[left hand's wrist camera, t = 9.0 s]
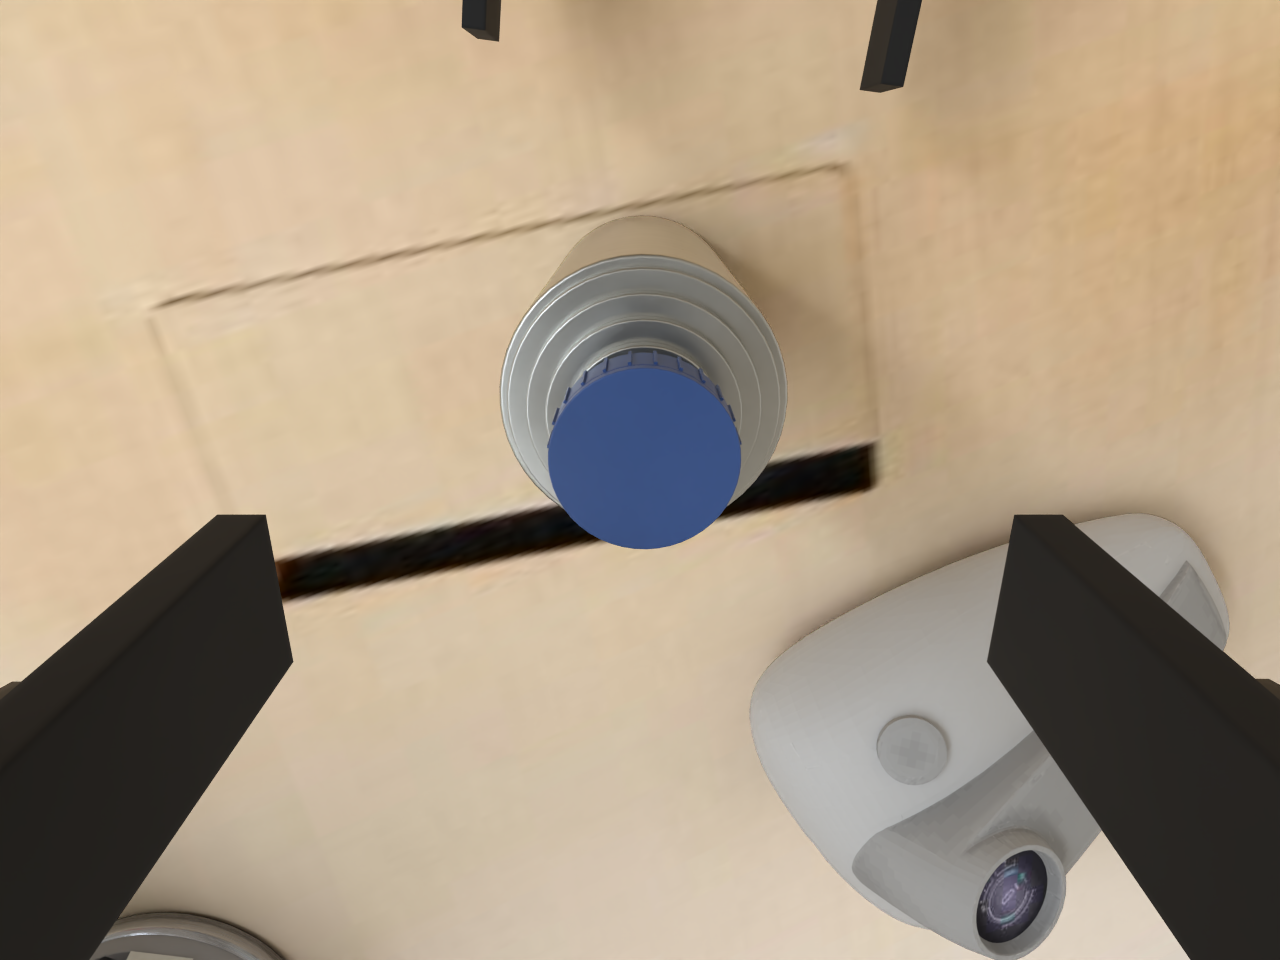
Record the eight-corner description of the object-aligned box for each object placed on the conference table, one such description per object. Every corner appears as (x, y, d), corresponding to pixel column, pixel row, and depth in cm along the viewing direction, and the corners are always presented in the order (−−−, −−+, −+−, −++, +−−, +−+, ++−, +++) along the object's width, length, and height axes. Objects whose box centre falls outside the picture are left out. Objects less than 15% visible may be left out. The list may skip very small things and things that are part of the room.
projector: (1086, 847, 49) (1258, 1114, 35) (710, 810, 48) (738, 1070, 34) (1232, 514, 41) (1529, 694, 27) (782, 459, 40) (857, 618, 26)
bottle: (644, 431, 39) (648, 666, 21) (514, 312, 37) (396, 461, 19) (770, 308, 37) (893, 452, 19) (639, 173, 35) (640, 193, 17)
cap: (646, 555, 21) (646, 585, 20) (515, 442, 20) (504, 465, 19) (773, 437, 20) (784, 460, 19) (642, 310, 19) (641, 323, 18)
